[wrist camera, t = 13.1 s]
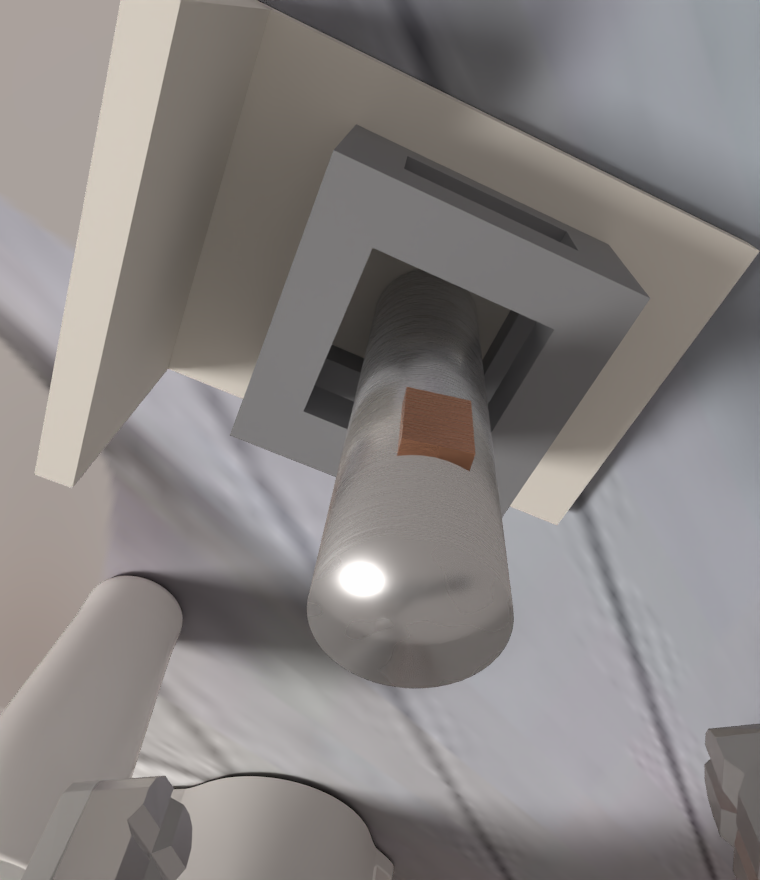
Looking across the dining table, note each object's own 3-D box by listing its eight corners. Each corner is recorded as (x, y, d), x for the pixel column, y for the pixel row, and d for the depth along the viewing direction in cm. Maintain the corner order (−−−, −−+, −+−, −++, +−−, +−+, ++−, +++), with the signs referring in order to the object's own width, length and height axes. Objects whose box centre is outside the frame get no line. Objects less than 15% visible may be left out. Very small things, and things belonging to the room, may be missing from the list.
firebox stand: (553, 509, 33) (593, 680, 24) (151, 346, 30) (34, 474, 21) (747, 242, 26) (901, 349, 17) (244, -6, 23) (125, -28, 14)
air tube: (461, 373, 28) (480, 704, 14) (366, 352, 28) (293, 666, 14) (491, 274, 26) (548, 552, 12) (387, 250, 26) (326, 505, 12)
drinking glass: (91, 542, 36) (-102, 826, 23) (213, 586, 37) (92, 881, 24) (70, 623, 39) (-108, 910, 27) (182, 661, 40) (62, 955, 28)
